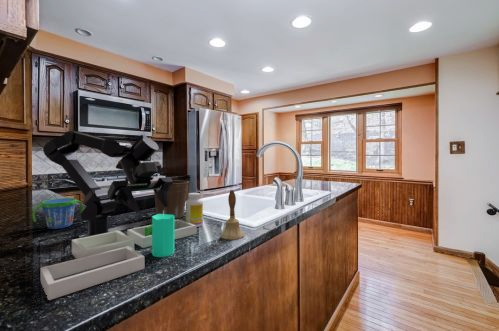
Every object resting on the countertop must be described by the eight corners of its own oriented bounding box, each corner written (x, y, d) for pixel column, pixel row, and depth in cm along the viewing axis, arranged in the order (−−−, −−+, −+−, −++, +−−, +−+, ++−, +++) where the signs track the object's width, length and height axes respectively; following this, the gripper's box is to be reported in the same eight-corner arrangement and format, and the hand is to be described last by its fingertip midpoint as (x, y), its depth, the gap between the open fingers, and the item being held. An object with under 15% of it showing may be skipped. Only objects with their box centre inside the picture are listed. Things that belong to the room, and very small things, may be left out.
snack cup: (34, 234, 83) (34, 205, 82) (31, 228, 90) (30, 201, 90) (87, 225, 94) (87, 199, 94) (80, 220, 101) (80, 196, 101)
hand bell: (234, 241, 78) (235, 192, 77) (215, 236, 82) (215, 190, 82) (248, 234, 85) (249, 190, 84) (230, 230, 89) (230, 188, 89)
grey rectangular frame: (40, 281, 52) (40, 267, 51) (128, 256, 65) (128, 245, 65) (48, 300, 45) (48, 284, 45) (144, 268, 58) (144, 256, 58)
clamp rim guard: (127, 238, 79) (127, 229, 79) (178, 227, 93) (178, 219, 93) (143, 248, 71) (143, 238, 71) (196, 233, 85) (196, 225, 85)
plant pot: (174, 211, 121) (174, 179, 121) (196, 215, 112) (196, 181, 111) (144, 217, 108) (144, 181, 107) (166, 223, 99) (166, 184, 98)
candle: (148, 252, 68) (148, 210, 67) (167, 247, 72) (168, 207, 72) (158, 258, 64) (158, 214, 63) (178, 252, 68) (178, 210, 68)
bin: (71, 254, 66) (71, 239, 66) (118, 243, 75) (118, 230, 75) (83, 267, 58) (83, 251, 58) (134, 253, 67) (134, 239, 67)
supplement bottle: (206, 225, 97) (206, 193, 96) (194, 228, 91) (194, 195, 91) (194, 222, 100) (194, 191, 100) (182, 226, 95) (182, 193, 94)
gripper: (111, 152, 66) (131, 195, 60) (169, 153, 81) (191, 188, 75) (99, 178, 71) (117, 221, 65) (156, 175, 86) (175, 210, 80)
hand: (153, 209), depth 71 cm, fingers open, 9 cm apart
